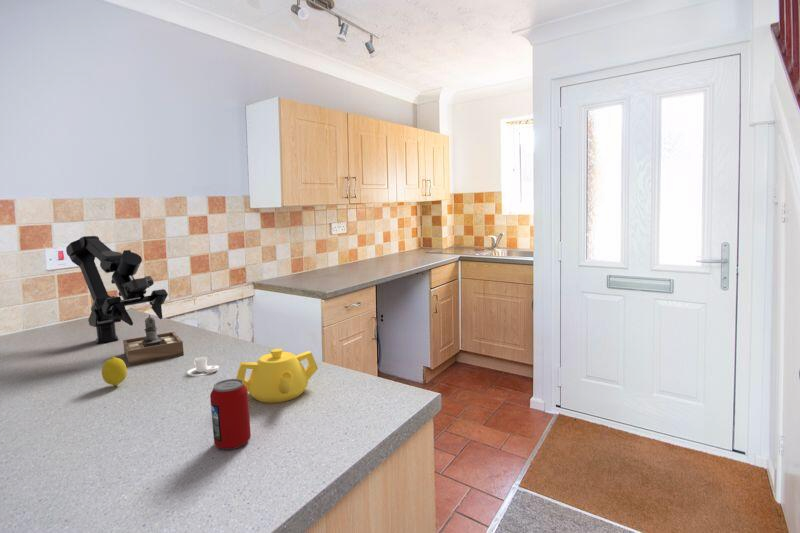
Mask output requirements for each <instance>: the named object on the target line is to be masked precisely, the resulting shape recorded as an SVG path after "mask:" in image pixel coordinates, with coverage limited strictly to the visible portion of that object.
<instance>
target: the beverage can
mask: <svg viewBox="0 0 800 533" xmlns="http://www.w3.org/2000/svg"><path fill="white" fill-rule="evenodd" d="M212 387H213V388H212V390H211V392H210V395H209V397H210V410H211V412H210V413H211V422H212V423H211V424H212V433H213V442H214V445H215V446H216V447H217V448H220V449H222V450H234V449H238V448H240V447H242V446H243V445H245V444H246V443H248V441H249V440H250V439H251V436H252V434H251V420H250V405H249V394H248V393H249V392H248V391H247V388H246V386H245V385H244V384H243V381H242V380H240V379H236V378H230V379H229V378H228V379H224V380H223V379H222V380H221V381H218V382H216V383H215V384H213V386H212Z"/></svg>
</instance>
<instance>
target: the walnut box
mask: <svg viewBox="0 0 800 533" xmlns="http://www.w3.org/2000/svg"><path fill="white" fill-rule="evenodd" d="M157 336H158V338H162V341H161V345H156V346H150V347H144V346H143V343H142V341H143V340H145V339H146V336H139V337H136V338H129V339H127V338H126V339H123V340H122V343H123V352H124V356H125V358H126V361H127V363H128V366H130V367H131V366H135V365H139V364H145V363H149V362H156V361H160V360H161V361H162V360H165V359H170V358H176V357H177V358H178V357H180V356H184V343H183V342H184V341H183V340H182V339H181V338H180V337H179V336H178V335H177V334H176V332H175V331H171V332H165V333H158V334H157Z"/></svg>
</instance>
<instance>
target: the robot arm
mask: <svg viewBox="0 0 800 533" xmlns="http://www.w3.org/2000/svg"><path fill="white" fill-rule="evenodd" d="M65 252H66V255H67V256H69V259H70V261H71V262H72V263H73V264H74V265H76V266H78V267H79V269H80V270H81V273H82V276H83V278H84V281H85V283H86V285H87V288H88V291H89V293H90V295H91V298H92V301H93V302H92V304H91V307H90V310H91V311H90V312H91V313H90V314H89V317H88V324H89V326H91V327H95V328H96V329H95V330H96V336H97V337H96V338H95V341H96V344H102V343H103V344H104V343H108V342H114V341H119V337H118V335H117V331H116V323H121V321H123V322H124V323H125V324H128V325H129V326H133V325H134V322H133V319H132V318H131V316H130V314H129V313H128V311H127V309H126V307H127V306H134V305H140V304H146V303H149V305H150V306H151V307H150V308H151V309H152V311H153V312H154V314H155V316H157V318H158V319H159V320H162V319H163V309H162V305H163V304H164V303H165V301H166V299H167V297H168V295H169V294H168V292H167V291H166V289H164V288H163V289H155V290H154V289H153V290H152V291H151V294H150V295H146V296H145V294H146V293H147V289H148V288H150V287H152V286H153V285H154V283H155V282H154V279H153V277H152V276H151V275H147V276H146V275H145V276H144V277H141V278H135V275H136V274H137V273H138V270H139V268H140V266H141V264H142V261H143V258H142V256H141V255H139V254H137V253H135V252H134V251H133V252H132V250H130V249H126V250H123V251H122V252H120V251H119V252H118V251H115V250H112V249H111V248H109V247H108V246H107V244H105V243H104V242H103V241H101V240H100V238H99V236H98V235H97V236H96V235H87V236H85V235H84V236H81V237H80V238H79V239H76V240H73V241H71V242H70V243H69V244H68V245H67V246H66V251H65ZM95 259H97V260H99V262H100V264H99V267H100V269H101V270H102V271H103V272H104V273H106V274H110V273H112V275H111V285H112V284H113V285H115V287H116V288H117V290H118V293H117V295H118V296H114V295H112V296H110V295H109V294H108V290H107V289H106V286H105V283H104V282H103V279H102V277H101V274H100V271H99V270H98V268H97V264H96V262H95Z"/></svg>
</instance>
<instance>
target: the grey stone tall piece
mask: <svg viewBox="0 0 800 533" xmlns="http://www.w3.org/2000/svg"><path fill="white" fill-rule="evenodd" d="M144 320H145V321H144V324H145V329H144V331H145V335H146V339H145V340H143V341H142V343H143V346H144V347H150V346H156V345H161V341H162V338H158V336H157V329H158V327H156V326H157V325H156V319H155V318H154V317H152V316H151V315H150V314H148V317H147V318H145V319H144Z"/></svg>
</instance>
